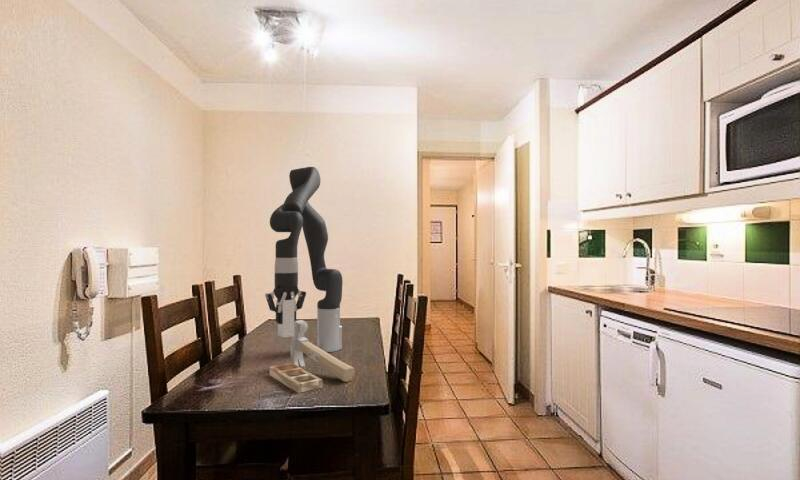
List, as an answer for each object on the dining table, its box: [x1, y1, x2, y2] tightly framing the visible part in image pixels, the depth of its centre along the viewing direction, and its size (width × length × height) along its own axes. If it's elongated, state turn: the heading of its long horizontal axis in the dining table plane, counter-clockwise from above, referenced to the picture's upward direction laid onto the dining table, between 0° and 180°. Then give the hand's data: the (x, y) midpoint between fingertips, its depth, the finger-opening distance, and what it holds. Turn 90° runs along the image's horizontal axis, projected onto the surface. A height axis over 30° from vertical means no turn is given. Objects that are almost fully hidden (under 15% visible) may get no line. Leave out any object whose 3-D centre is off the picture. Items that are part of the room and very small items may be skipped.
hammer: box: [289, 319, 355, 383], centre depth 153 cm, size 16×5×30 cm
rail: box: [269, 362, 324, 394], centre depth 144 cm, size 8×22×3 cm, turn 38°
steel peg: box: [277, 300, 295, 338], centre depth 149 cm, size 4×4×12 cm
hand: (285, 322), depth 149 cm, fingers closed on steel peg, 4 cm apart
